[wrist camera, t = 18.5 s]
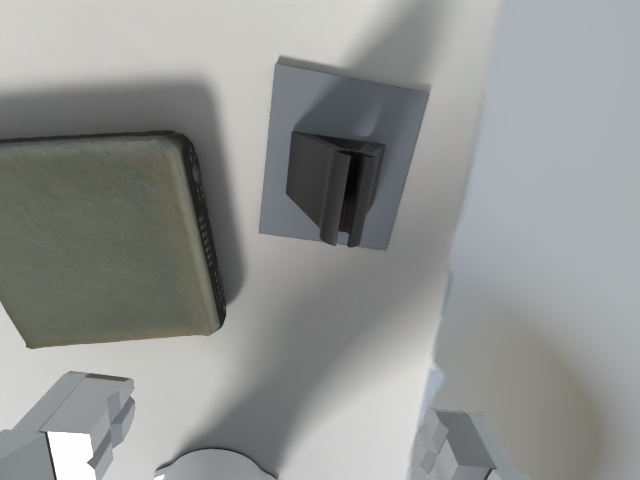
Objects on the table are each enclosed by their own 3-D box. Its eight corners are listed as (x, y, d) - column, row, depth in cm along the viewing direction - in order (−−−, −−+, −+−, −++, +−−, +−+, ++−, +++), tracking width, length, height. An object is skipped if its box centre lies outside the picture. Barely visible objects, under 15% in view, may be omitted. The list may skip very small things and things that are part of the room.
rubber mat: (384, 248, 35) (385, 250, 35) (259, 231, 34) (258, 233, 33) (426, 93, 29) (428, 93, 29) (275, 64, 28) (275, 63, 27)
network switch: (-55, 148, 30) (-121, 156, 25) (184, 97, 29) (161, 96, 24) (69, 339, 39) (37, 370, 35) (253, 304, 38) (245, 332, 34)
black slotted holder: (385, 144, 30) (430, 167, 19) (372, 203, 33) (405, 254, 22) (291, 130, 30) (283, 146, 18) (285, 192, 32) (274, 239, 21)
